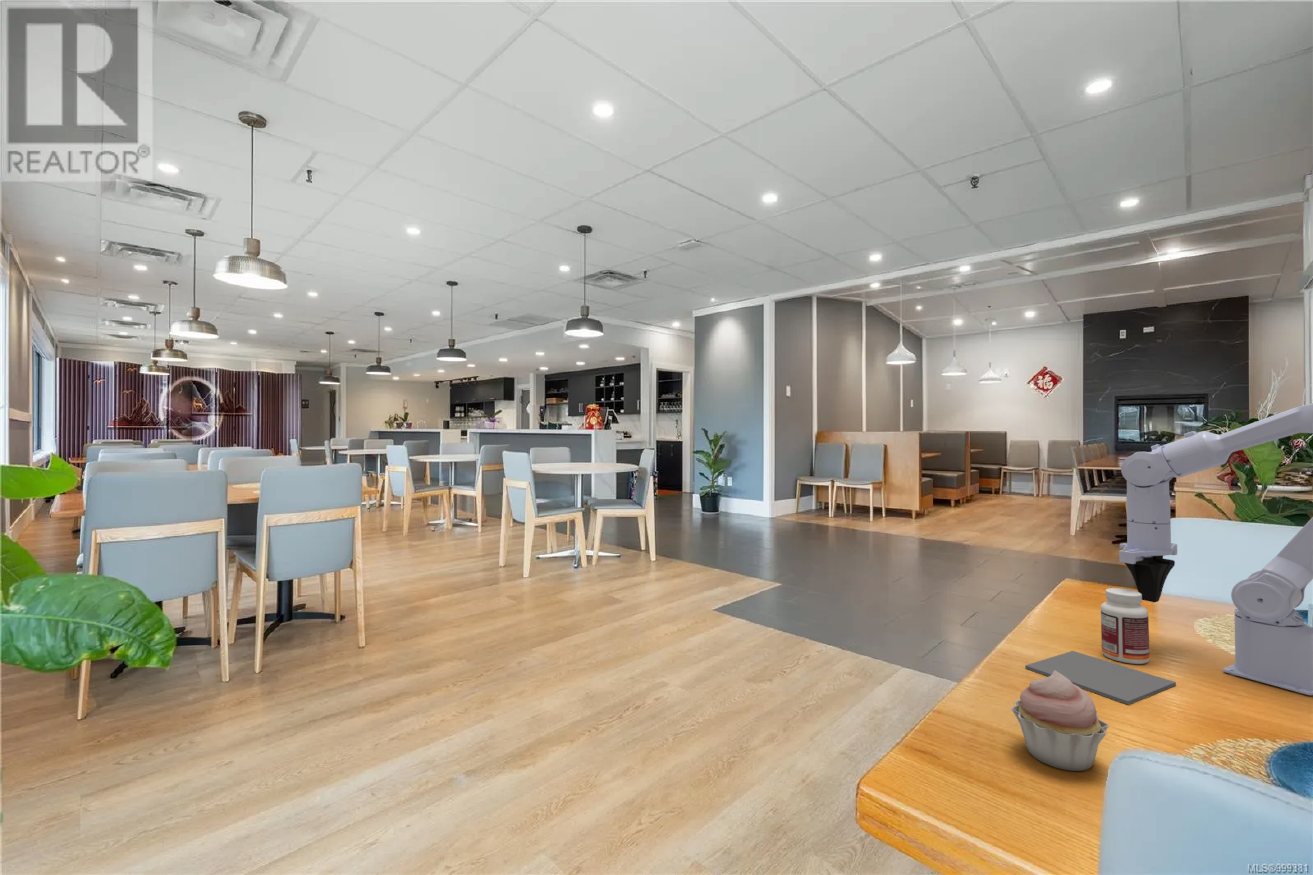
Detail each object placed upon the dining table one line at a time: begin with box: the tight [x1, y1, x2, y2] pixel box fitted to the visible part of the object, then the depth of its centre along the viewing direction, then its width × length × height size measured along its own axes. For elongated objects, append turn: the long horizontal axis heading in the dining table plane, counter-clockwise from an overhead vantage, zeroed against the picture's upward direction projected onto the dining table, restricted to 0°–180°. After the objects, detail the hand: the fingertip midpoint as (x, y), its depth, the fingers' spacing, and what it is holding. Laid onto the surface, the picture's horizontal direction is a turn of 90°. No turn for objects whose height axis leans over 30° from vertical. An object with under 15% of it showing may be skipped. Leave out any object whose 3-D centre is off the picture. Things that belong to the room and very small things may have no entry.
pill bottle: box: [1100, 587, 1151, 665], centre depth 95 cm, size 6×6×11 cm
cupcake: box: [1010, 670, 1110, 772], centre depth 67 cm, size 9×9×10 cm
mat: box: [1024, 650, 1177, 706], centre depth 88 cm, size 14×13×1 cm
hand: (1149, 600), depth 99 cm, fingers closed
